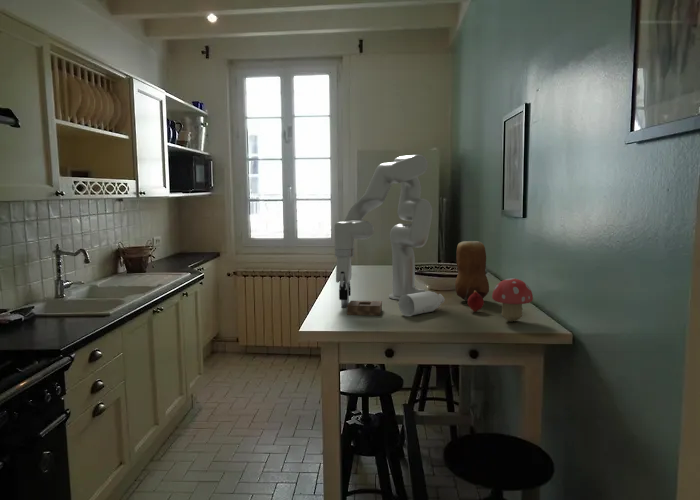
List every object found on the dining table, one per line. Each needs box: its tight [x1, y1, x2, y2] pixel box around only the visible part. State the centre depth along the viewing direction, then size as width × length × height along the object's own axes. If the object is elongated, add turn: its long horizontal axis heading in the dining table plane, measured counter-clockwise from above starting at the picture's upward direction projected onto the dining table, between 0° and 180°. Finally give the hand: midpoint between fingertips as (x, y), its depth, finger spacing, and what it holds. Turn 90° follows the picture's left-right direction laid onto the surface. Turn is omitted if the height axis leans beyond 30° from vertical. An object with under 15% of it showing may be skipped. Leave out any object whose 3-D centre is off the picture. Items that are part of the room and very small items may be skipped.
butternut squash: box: [454, 240, 490, 302], centre depth 212 cm, size 14×13×25 cm
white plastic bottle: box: [397, 290, 445, 317], centre depth 194 cm, size 8×19×8 cm, turn 128°
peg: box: [340, 281, 350, 309], centre depth 206 cm, size 3×3×10 cm
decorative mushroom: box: [491, 277, 534, 323], centre depth 178 cm, size 13×13×15 cm
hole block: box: [346, 300, 383, 317], centre depth 196 cm, size 12×9×4 cm
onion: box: [467, 291, 485, 313], centre depth 194 cm, size 6×6×8 cm
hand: (345, 297), depth 206 cm, fingers open, 7 cm apart
